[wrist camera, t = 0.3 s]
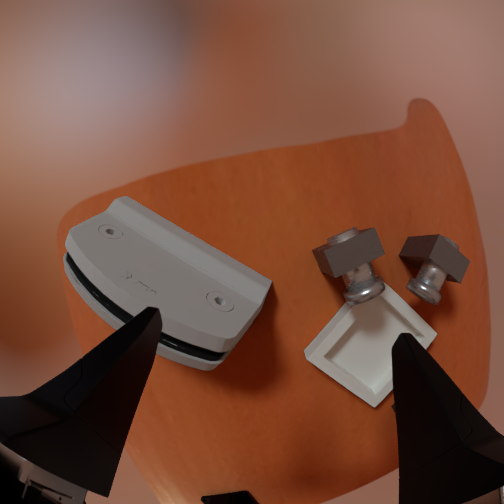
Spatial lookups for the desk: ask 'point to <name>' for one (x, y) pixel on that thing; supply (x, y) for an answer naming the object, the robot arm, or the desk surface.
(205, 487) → the desk surface
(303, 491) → the desk surface
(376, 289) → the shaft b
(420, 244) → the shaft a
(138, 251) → the white electronic device
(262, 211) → the desk surface
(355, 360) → the white square tray
